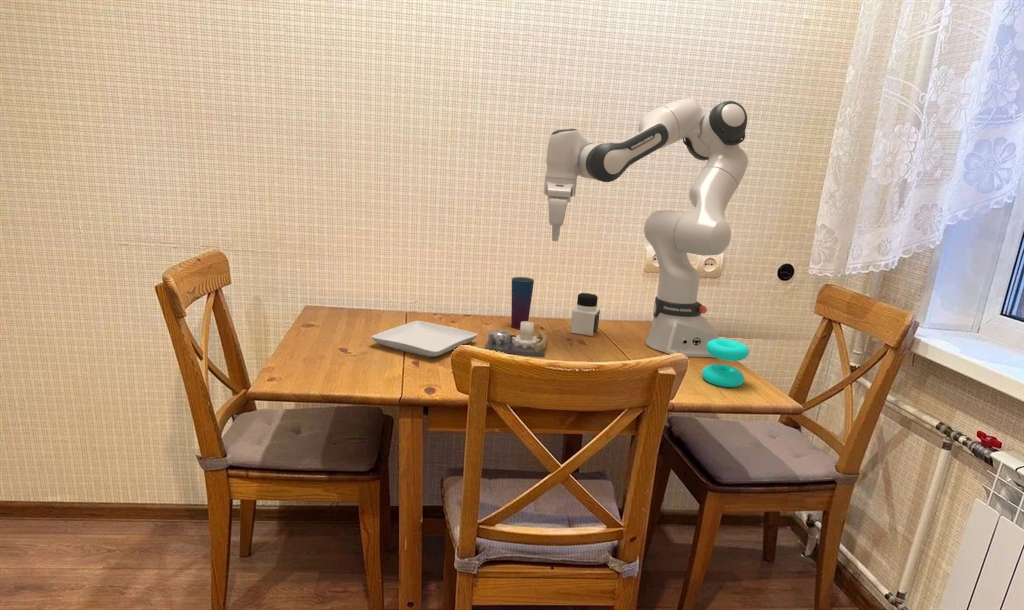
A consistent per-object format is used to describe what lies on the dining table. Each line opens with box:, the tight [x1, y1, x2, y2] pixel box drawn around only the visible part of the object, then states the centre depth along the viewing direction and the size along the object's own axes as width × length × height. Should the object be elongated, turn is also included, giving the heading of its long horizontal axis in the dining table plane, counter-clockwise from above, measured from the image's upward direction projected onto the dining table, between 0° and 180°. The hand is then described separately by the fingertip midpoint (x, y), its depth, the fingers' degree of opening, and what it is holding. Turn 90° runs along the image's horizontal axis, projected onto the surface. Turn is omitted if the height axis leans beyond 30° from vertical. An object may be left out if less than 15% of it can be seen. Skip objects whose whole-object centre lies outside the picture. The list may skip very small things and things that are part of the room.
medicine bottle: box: [570, 292, 601, 337], centre depth 184 cm, size 7×7×12 cm
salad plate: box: [371, 320, 479, 358], centre depth 163 cm, size 21×21×3 cm
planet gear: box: [512, 320, 540, 348], centre depth 166 cm, size 8×8×6 cm
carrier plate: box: [484, 329, 547, 358], centre depth 166 cm, size 16×14×4 cm
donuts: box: [701, 338, 750, 388], centre depth 150 cm, size 10×10×10 cm
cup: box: [510, 276, 535, 330], centre depth 184 cm, size 7×7×15 cm
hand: (555, 238), depth 171 cm, fingers open, 8 cm apart
